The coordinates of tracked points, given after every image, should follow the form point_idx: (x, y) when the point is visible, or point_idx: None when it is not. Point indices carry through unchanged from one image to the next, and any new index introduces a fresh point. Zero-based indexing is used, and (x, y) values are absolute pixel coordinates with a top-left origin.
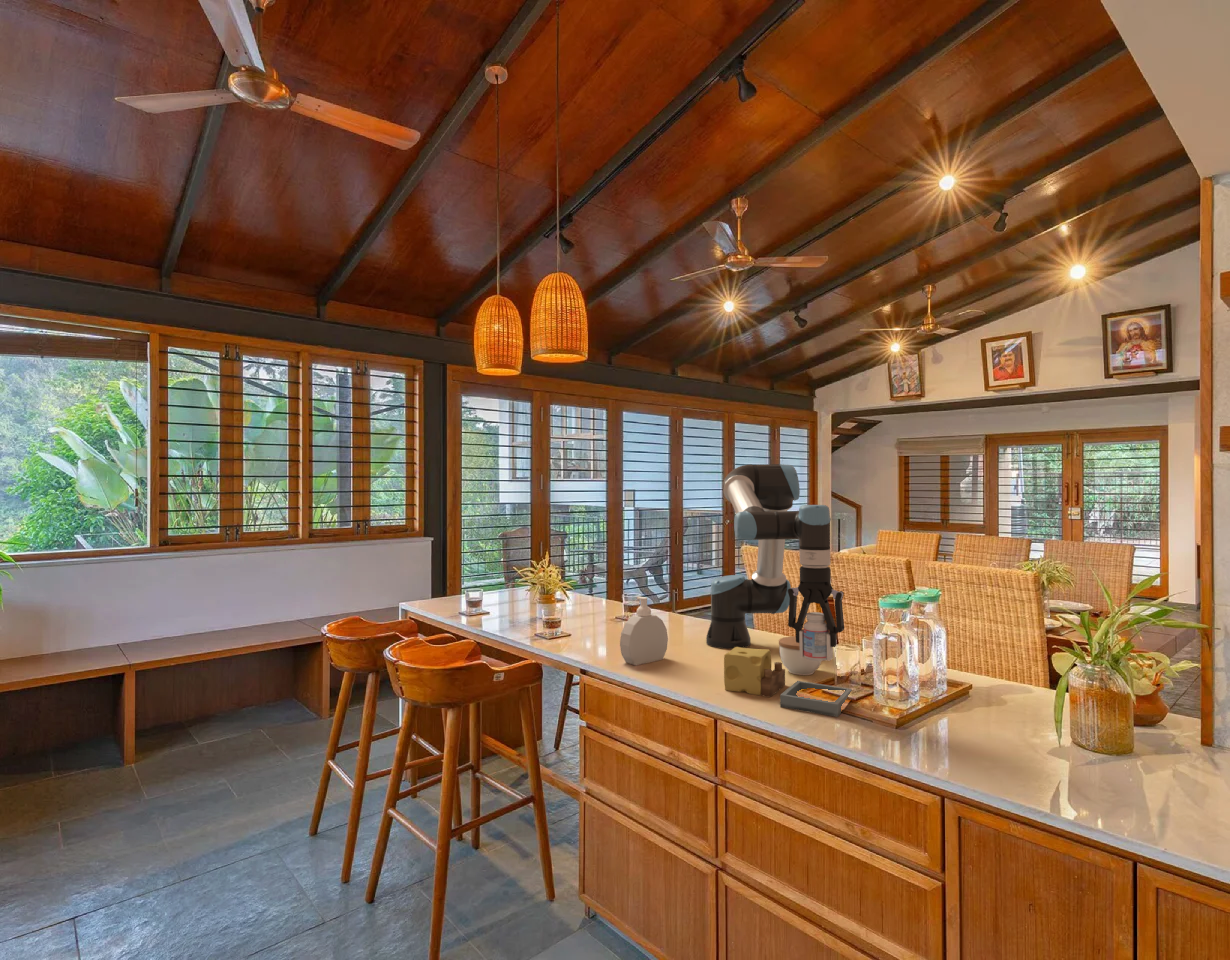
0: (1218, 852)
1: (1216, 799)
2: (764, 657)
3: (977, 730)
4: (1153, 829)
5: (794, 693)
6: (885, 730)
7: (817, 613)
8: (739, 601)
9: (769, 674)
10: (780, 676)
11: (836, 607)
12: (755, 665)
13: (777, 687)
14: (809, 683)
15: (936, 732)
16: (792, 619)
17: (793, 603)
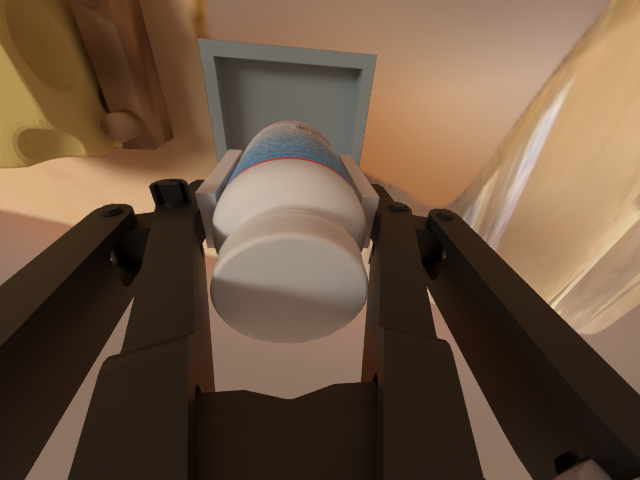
0: (610, 324)
1: None
2: (39, 88)
3: (589, 144)
4: (592, 315)
5: (226, 120)
6: None
7: (297, 274)
8: None
9: (135, 137)
10: (124, 26)
11: (496, 391)
12: (74, 156)
13: (150, 68)
14: (245, 58)
15: (507, 189)
16: (132, 291)
17: (46, 429)
